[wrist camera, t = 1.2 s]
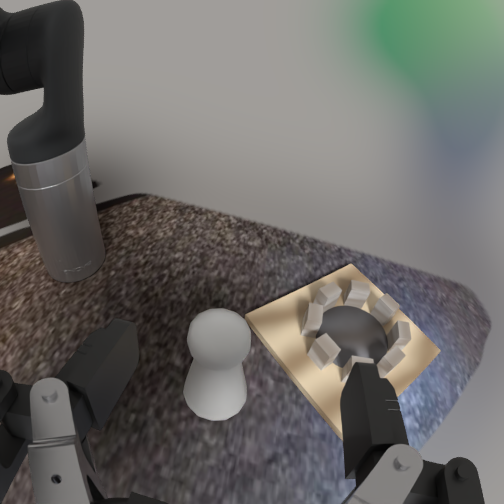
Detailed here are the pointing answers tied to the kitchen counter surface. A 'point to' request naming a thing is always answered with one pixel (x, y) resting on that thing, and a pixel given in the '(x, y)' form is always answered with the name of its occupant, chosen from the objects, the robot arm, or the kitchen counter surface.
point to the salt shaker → (217, 364)
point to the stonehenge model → (340, 338)
